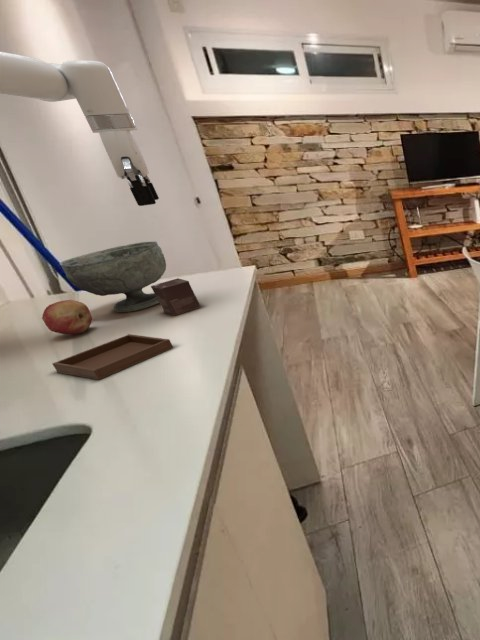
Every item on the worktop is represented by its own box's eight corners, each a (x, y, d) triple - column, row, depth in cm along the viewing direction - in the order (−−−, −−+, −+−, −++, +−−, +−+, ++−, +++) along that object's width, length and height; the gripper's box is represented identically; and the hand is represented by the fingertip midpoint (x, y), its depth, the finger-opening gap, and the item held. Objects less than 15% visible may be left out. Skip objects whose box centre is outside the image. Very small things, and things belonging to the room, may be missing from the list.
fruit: (66, 342, 107) (46, 309, 103) (46, 339, 109) (25, 307, 106) (107, 327, 114) (89, 296, 110) (86, 325, 116) (68, 294, 112)
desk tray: (99, 379, 89) (93, 370, 88) (57, 372, 93) (51, 363, 92) (173, 347, 100) (169, 339, 99) (133, 342, 104) (129, 334, 104)
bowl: (115, 299, 133) (86, 247, 126) (195, 287, 138) (171, 237, 131) (69, 326, 116) (32, 268, 109) (161, 312, 121) (132, 255, 114)
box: (201, 307, 122) (189, 280, 119) (174, 316, 117) (160, 288, 114) (191, 304, 125) (178, 277, 122) (163, 312, 120) (149, 285, 117)
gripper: (96, 126, 110) (133, 201, 118) (82, 125, 97) (124, 209, 105) (138, 123, 114) (171, 196, 121) (129, 122, 101) (167, 204, 109)
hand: (149, 202), depth 113 cm, fingers open, 9 cm apart
